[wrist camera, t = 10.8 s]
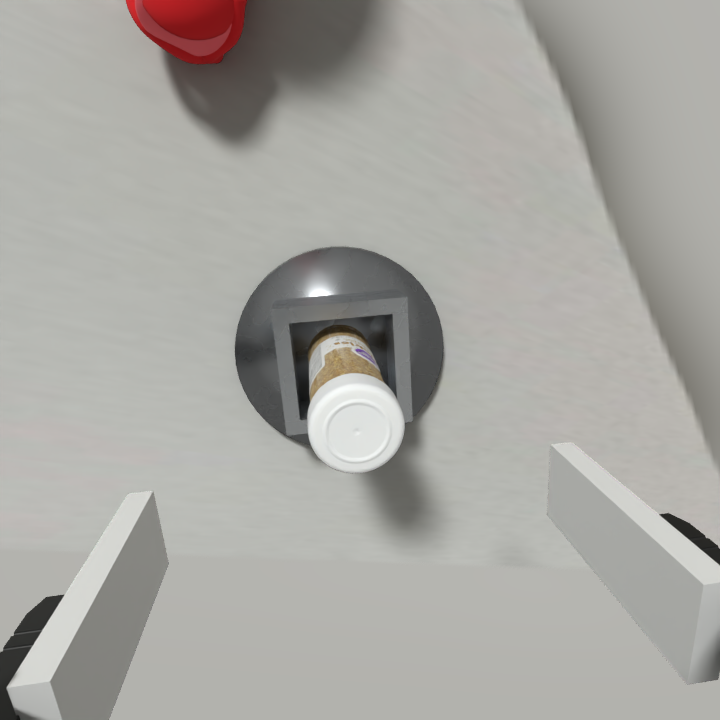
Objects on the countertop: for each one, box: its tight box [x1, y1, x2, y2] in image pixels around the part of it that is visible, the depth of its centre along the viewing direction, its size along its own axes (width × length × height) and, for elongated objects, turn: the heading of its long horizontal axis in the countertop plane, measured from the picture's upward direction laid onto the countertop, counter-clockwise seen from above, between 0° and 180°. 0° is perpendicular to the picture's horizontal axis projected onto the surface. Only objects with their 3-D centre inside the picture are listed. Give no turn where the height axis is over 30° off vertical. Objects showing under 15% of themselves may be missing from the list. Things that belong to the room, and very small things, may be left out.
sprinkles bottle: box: [307, 325, 405, 473], centre depth 29 cm, size 5×5×14 cm
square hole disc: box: [235, 247, 443, 445], centre depth 34 cm, size 15×15×4 cm
